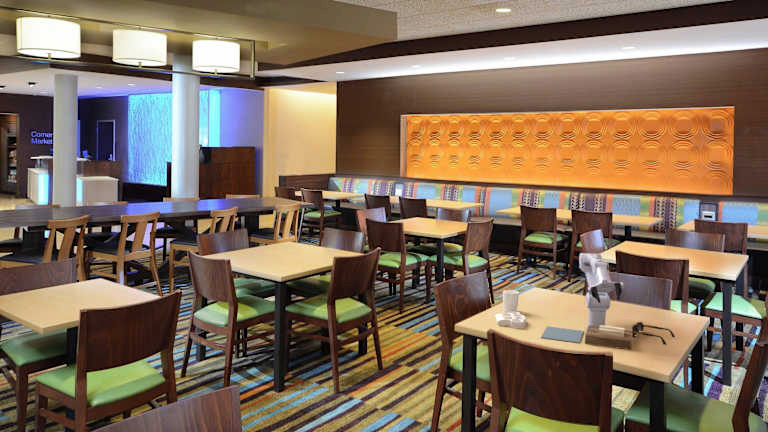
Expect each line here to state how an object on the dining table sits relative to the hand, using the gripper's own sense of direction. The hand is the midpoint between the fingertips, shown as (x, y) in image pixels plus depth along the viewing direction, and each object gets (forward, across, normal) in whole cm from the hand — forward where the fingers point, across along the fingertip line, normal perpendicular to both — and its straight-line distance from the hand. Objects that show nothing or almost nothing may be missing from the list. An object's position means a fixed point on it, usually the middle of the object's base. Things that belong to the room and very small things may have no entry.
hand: (608, 299), depth 254 cm
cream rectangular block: (+3, -1, +16) cm, 16 cm away
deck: (+4, -3, +19) cm, 19 cm away
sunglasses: (-4, +15, +28) cm, 32 cm away
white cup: (-32, -46, +24) cm, 61 cm away
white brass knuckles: (-13, -44, +17) cm, 48 cm away
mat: (0, -22, +16) cm, 27 cm away
